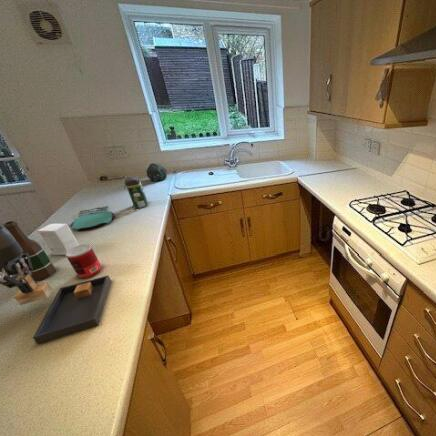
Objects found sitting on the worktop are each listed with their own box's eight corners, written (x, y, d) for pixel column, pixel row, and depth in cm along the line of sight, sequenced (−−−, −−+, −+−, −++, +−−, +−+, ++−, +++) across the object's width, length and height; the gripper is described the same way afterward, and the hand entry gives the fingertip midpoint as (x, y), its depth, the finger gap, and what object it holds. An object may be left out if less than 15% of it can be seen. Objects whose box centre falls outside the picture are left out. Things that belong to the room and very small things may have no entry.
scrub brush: (20, 305, 76) (3, 285, 72) (26, 296, 79) (10, 277, 75) (48, 297, 78) (33, 277, 74) (52, 289, 82) (39, 270, 78)
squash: (167, 168, 205) (150, 158, 194) (172, 173, 195) (155, 162, 184) (157, 182, 204) (139, 172, 192) (162, 187, 194) (144, 177, 183)
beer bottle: (35, 271, 98) (-1, 220, 86) (59, 265, 101) (27, 215, 89) (27, 283, 92) (-13, 230, 80) (53, 276, 95) (18, 224, 83)
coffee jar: (134, 204, 155) (124, 176, 146) (148, 201, 158) (138, 174, 149) (133, 209, 147) (122, 181, 138) (148, 206, 150) (138, 178, 142)
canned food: (104, 263, 101) (93, 242, 96) (98, 275, 94) (86, 253, 89) (83, 268, 99) (70, 246, 93) (75, 281, 92) (61, 258, 87)
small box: (81, 247, 112) (67, 223, 106) (68, 255, 107) (54, 231, 101) (65, 246, 113) (51, 223, 107) (52, 255, 108) (36, 230, 101)
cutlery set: (69, 235, 122) (67, 231, 121) (76, 213, 145) (75, 210, 144) (115, 224, 132) (113, 220, 130) (115, 205, 154) (114, 202, 153)
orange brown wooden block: (77, 299, 83) (73, 292, 82) (80, 291, 87) (76, 285, 85) (91, 295, 85) (87, 289, 83) (93, 287, 88) (90, 281, 86)
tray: (38, 344, 69) (32, 338, 68) (64, 294, 86) (60, 287, 85) (98, 325, 74) (94, 318, 73) (111, 281, 92) (108, 275, 90)
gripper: (-7, 236, 73) (25, 279, 81) (-39, 262, 62) (2, 308, 70) (25, 230, 76) (53, 272, 84) (0, 254, 64) (35, 299, 73)
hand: (30, 288), depth 77 cm, fingers closed on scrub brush, 2 cm apart
